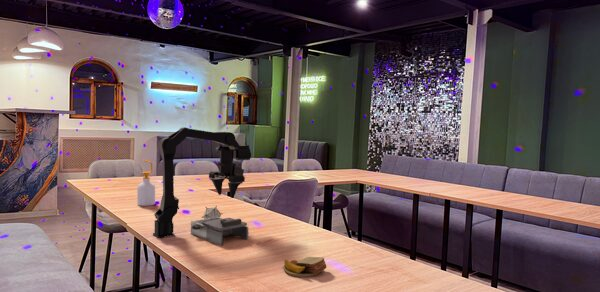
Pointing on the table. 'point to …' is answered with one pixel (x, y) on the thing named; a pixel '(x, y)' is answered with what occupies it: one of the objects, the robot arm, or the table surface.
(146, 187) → the soap bottle
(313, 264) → the toy sandwich meal
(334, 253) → the table surface
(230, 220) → the lid
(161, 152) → the robot arm
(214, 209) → the game die
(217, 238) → the grey rectangular box
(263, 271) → the table surface
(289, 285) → the table surface
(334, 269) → the table surface
